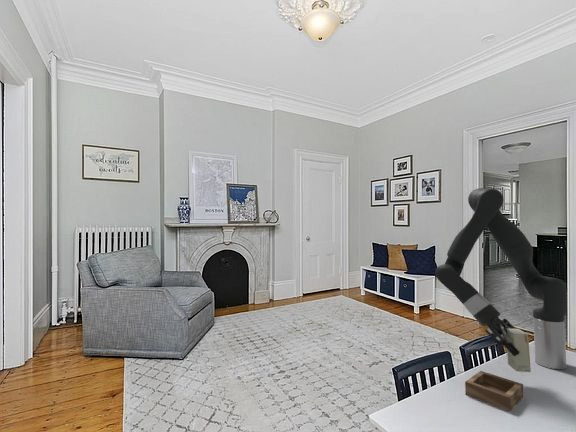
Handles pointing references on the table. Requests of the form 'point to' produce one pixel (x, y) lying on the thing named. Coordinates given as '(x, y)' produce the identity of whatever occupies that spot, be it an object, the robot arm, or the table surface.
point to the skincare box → (522, 345)
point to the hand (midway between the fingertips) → (521, 351)
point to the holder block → (494, 390)
